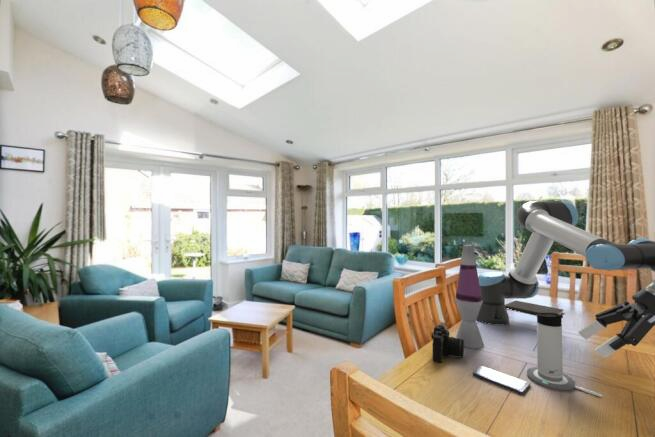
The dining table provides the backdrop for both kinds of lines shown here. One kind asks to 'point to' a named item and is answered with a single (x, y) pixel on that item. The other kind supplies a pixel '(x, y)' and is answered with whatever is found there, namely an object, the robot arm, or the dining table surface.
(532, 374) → the charging pad
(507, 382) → the phone
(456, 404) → the dining table surface
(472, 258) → the lamp
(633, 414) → the dining table surface
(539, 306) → the hardcover book
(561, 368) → the travel mug
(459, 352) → the camera
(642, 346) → the dining table surface
